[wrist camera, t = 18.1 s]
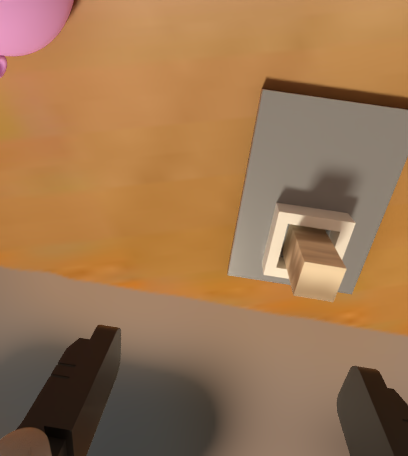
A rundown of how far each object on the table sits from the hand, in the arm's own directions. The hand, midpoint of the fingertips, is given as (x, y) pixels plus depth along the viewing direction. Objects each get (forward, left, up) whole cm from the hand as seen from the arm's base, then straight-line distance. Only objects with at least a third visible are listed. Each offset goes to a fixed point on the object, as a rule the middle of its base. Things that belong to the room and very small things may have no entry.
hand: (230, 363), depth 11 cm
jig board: (+5, +11, -33) cm, 35 cm away
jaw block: (+10, +11, -32) cm, 35 cm away
